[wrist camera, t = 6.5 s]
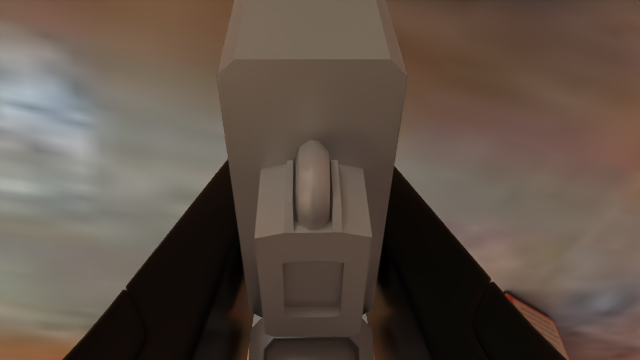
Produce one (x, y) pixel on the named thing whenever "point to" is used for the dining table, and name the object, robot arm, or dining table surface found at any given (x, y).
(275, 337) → the lighter
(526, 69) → the dining table surface
